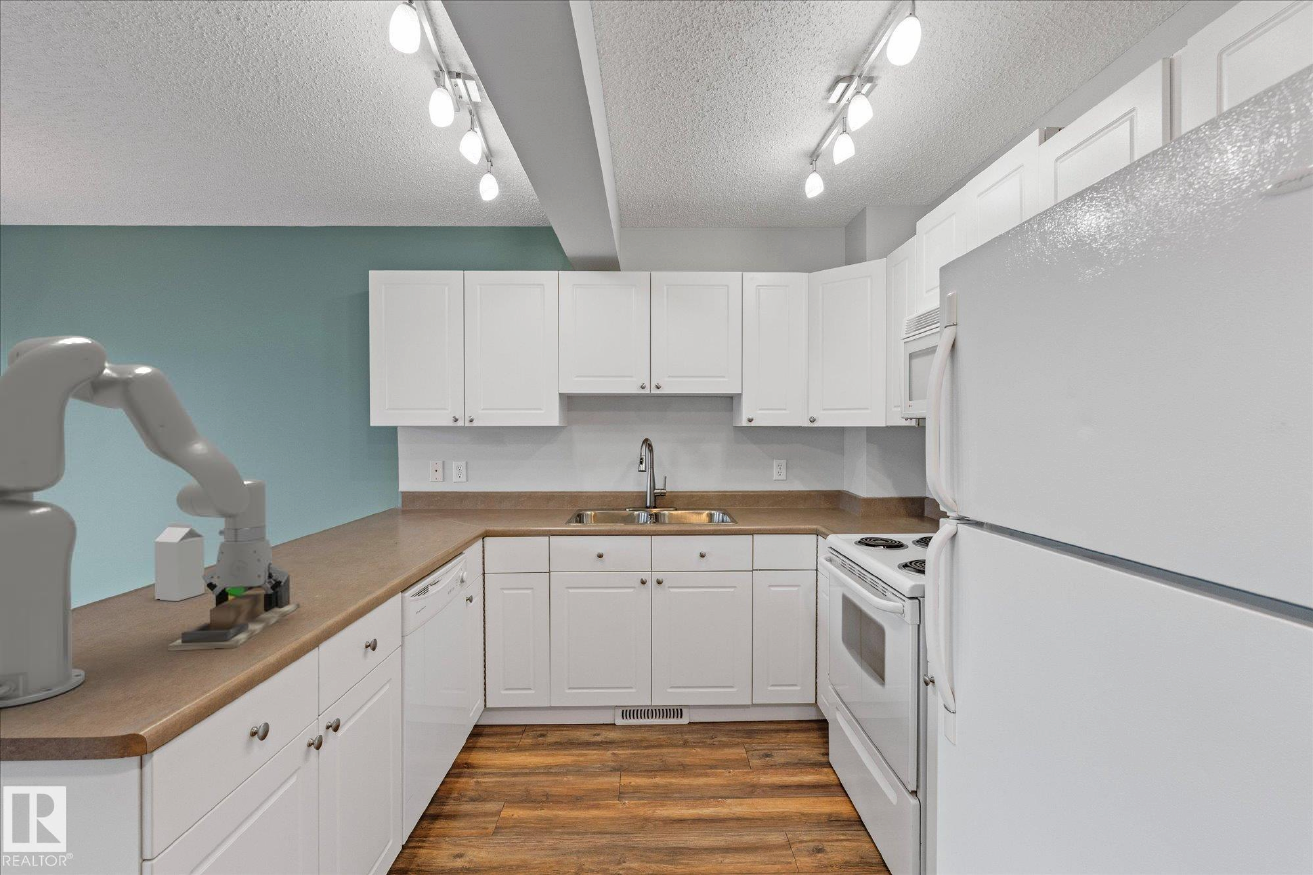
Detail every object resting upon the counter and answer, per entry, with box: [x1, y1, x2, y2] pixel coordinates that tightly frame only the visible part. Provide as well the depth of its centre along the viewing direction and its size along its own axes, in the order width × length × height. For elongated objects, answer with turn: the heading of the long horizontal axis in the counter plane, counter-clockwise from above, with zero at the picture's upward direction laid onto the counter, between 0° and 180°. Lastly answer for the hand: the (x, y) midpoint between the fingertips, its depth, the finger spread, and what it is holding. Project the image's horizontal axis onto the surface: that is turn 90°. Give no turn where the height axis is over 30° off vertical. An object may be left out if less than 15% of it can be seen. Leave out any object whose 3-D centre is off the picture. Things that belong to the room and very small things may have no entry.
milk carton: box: [154, 522, 206, 602], centre depth 150 cm, size 7×7×19 cm
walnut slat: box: [209, 586, 276, 631], centre depth 130 cm, size 18×4×5 cm, turn 7°
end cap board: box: [167, 574, 301, 652], centre depth 129 cm, size 27×12×8 cm, turn 7°
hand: (246, 610), depth 131 cm, fingers open, 9 cm apart
